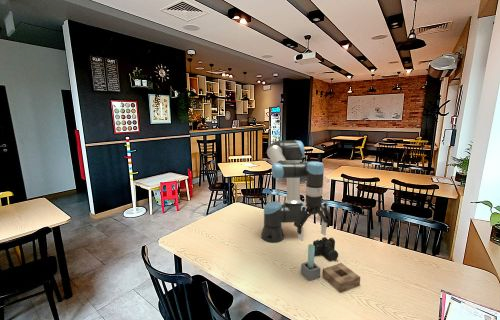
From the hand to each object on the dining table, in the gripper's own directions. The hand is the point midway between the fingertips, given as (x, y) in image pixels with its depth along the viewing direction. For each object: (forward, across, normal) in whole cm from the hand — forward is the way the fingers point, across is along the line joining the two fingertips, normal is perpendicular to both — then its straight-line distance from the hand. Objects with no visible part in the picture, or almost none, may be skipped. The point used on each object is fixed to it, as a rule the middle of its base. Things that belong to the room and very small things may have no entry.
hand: (312, 237), depth 113 cm
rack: (+22, +11, -8) cm, 26 cm away
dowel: (+21, 0, 0) cm, 21 cm away
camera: (+22, +19, +11) cm, 31 cm away
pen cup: (+22, 0, 0) cm, 22 cm away
